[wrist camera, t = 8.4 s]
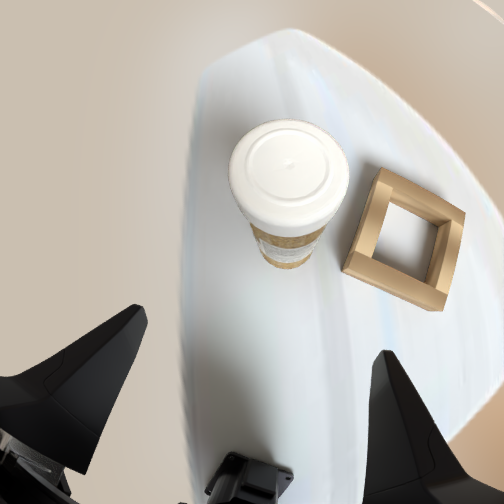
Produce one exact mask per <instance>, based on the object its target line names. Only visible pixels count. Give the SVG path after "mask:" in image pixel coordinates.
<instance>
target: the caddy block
mask: <svg viewBox="0 0 504 504" xmlns="http://www.w3.org/2000/svg"><path fill="white" fill-rule="evenodd" d="M389 202H391V203H394V204H396V205H398V206H400V207H402V208H404V209H406V210H407V211H409V212H411V213H413V214H415V215H417V216H419V217H421V218H423V219H425V220H426V221H428V222H430V223H432V224H434V225H436V226H437V227H439V228H438V233H437V237H436V241H435V246H434V250H433V254H432V257H431V261H430V265H429V268H428V272H427V275H426V279H425V282H424V283H423V282H421V281H419V280H417V279H415V278H413V277H411V276H409V275H407V274H405V273H402V272H400V271H398V270H396V269H394V268H392V267H390V266H388V265H385V264H383V263H381V262H379V261H377V260H375V259H373V258H372V255H373V252H374V249H375V246H376V243H377V240H378V237H379V234H380V231H381V227H382V224H383V221H384V218H385V214H386V211H387V208H388V204H389ZM464 220H465V212H463V211H462V210H460V209H459V208H457V207H455V206H454V205H452V204H450V203H449V202H447V201H445V200H444V199H442V198H440V197H438V196H437V195H435V194H433V193H431V192H430V191H428V190H426V189H424V188H422V187H420V186H419V185H417V184H415V183H413V182H411V181H409V180H407V179H405V178H403V177H401V176H399V175H397V174H395V173H393V172H391V171H389V170H387V169H385V168H383V167H381V169H380V170H379V172H378V173H377V175H376V176H375V178H374V179H373V183H372V186H371V189H370V192H369V195H368V199H367V202H366V205H365V208H364V211H363V214H362V217H361V220H360V223H359V226H358V228H357V231H356V234H355V237H354V240H353V242H352V245H351V248H350V250H349V253H348V256H347V258H346V261H345V264H344V266H343V269H342V271H341V272H343V273H345V274H347V275H350V276H352V277H354V278H356V279H359V280H361V281H363V282H365V283H368V284H370V285H372V286H374V287H377V288H379V289H381V290H383V291H386V292H388V293H390V294H392V295H394V296H397V297H399V298H401V299H403V300H405V301H408V302H410V303H412V304H414V305H416V306H419V307H421V308H423V309H425V310H427V311H443V309H444V306H445V303H446V299H447V296H448V293H449V289H450V286H451V282H452V278H453V274H454V270H455V266H456V262H457V258H458V253H459V248H460V243H461V238H462V232H463V227H464Z"/></svg>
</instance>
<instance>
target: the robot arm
mask: <svg viewBox="0 0 504 504" xmlns="http://www.w3.org/2000/svg"><path fill="white" fill-rule="evenodd" d="M147 324H148V320H147V317H146V313H145V310H144V308H143V306H140V305H137V304H133V305H131V306H129V307H127V308H126V309H124V310H123V311H121V312H120V313H118V314H116V315H115V316H113V317H112V318H110V319H109V320H107V321H106V322H104V323H102V324H101V325H99V326H98V327H96V328H95V329H93V330H92V331H90V332H88V333H87V334H85V335H84V336H82V337H81V338H79V339H78V340H76V341H75V342H73V343H72V344H70V345H69V346H67V347H66V348H64V349H62V350H61V351H59V352H58V353H56V354H55V355H53V356H51V357H50V358H48V359H46V360H45V361H43V362H41V363H39V364H38V365H35V366H34V367H32V368H30V369H28V370H26V371H24V372H22V373H20V374H18V375H15V376H10V377H2V376H0V504H79V503H77V502H76V501H74V500H73V499H71V498H70V495H71V491H70V488H69V486H68V483H67V480H66V477H65V474H64V468H65V467H67V468H69V469H72V470H74V471H76V472H78V473H80V474H83V475H85V474H86V472H87V470H88V467H89V464H90V462H91V459H92V457H93V454H94V452H95V449H96V447H97V444H98V442H99V439H100V438H99V437H100V436H101V434H102V431H103V429H104V427H105V424H106V422H107V419H108V417H109V415H110V413H111V410H112V408H113V406H114V403H115V401H116V399H117V397H118V394H119V392H120V390H121V388H122V386H123V384H124V381H125V379H126V377H127V375H128V373H129V370H130V368H131V366H132V364H133V362H134V359H135V358H136V355H137V352H138V350H139V347H140V344H141V341H142V338H143V335H144V332H145V330H146V327H147ZM230 456H233V457H234V458H231V457H230ZM286 477H290V478H286ZM293 479H294V476H293V474H292V473H290V472H287V471H283V470H280V469H277V467H274V466H271V465H268V464H265V463H262V462H260V461H257V460H254V459H250V458H247V457H245V456H242V455H240V454H237V453H235V452H229V453H228V454H227V455H226V457H225V458H224V460H223V462H222V463H221V465H220V467H219V468H218V470H217V471H216V473H215V475H214V476H213V478H212V479H211V481H210V482H209V484H208V485H207V487H206V489H205V491H204V492H205V493H206V494H207V495H209V496H210V498H209V500H208V502H207V504H278V498H279V497H280V496H281V495H282V493H283V492H284V491H285V490H286V488H287V487H288V486H289V485H290V483H291V482H292V481H293ZM209 491H211V492H209ZM363 496H364V497H363V502H362V504H504V492H502V491H500V490H497V489H495V488H493V487H491V486H488V485H486V484H484V483H482V482H480V481H478V480H476V479H473V478H472V477H471V476H469V475H468V474H467V473H466V472H465V470H464V469H463V468H462V466H461V465H460V463H459V461H458V460H457V458H456V457H455V455H454V454H453V452H452V451H451V449H450V448H449V446H448V445H447V443H446V441H445V440H444V438H443V436H442V434H441V433H440V431H439V429H438V427H437V425H436V424H435V423H434V420H433V418H432V416H431V415H430V413H429V411H428V409H427V407H426V406H425V404H424V402H423V400H422V399H421V397H420V395H419V393H418V392H417V390H416V388H415V387H414V385H413V383H412V382H411V380H410V378H409V377H408V375H407V373H406V372H405V370H404V368H403V367H402V365H401V363H400V362H399V360H398V359H397V357H396V355H395V354H394V352H393V351H391V350H382V351H381V352H380V353H379V355H378V356H377V358H376V359H375V361H374V363H373V366H372V377H371V388H370V397H369V426H368V450H367V465H366V477H365V487H364V495H363ZM178 504H187V503H181V502H180V503H178Z"/></svg>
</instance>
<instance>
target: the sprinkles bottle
mask: <svg viewBox="0 0 504 504" xmlns="http://www.w3.org/2000/svg"><path fill="white" fill-rule="evenodd" d="M228 178H229V184H230V187H231V190H232V193H233V195H234V198H235V200H236V202H237V204H238V206H239V208H240V210H241V212H242V213H243V215H244V216H245V217H246V219H247V220H248V221H249V222H250V225H251V227H252V231H253V234H254V237H255V239H256V241H257V243H258V245H259V248H260V251H261V253H262V255H263V257H264V258H265V259H266V260H267V261H268V262H269V263H270V264H272V265H274V266H275V267H277V268H283V269H292V268H296V267H299V266H300V265H301V264H303V263H304V262H306V261H307V260H308V258H309V257H310V255H311V253H312V251H313V248H314V247H315V245H316V243H317V242H318V240H319V238H320V236H321V234H322V233H323V231H324V229H325V227H326V225H327V223H328V222H329V221H330V220H331V219H332V218H333V216H334V215H335V214H336V212H337V210H338V208H339V207H340V205H341V203H342V201H343V199H344V196H345V194H346V191H347V188H348V183H349V166H348V162H347V158H346V156H345V154H344V151H343V149H342V148H341V146H340V145H339V144H338V142H337V141H336V140H335V139H334V138H333V137H332V136H331V135H330V134H329V133H328V132H326V131H325V130H323V129H322V128H320V127H318V126H316V125H314V124H312V123H309V122H306V121H302V120H296V119H279V120H273V121H269V122H266V123H263V124H261V125H259V126H257V127H255V128H253V129H252V130H250V131H249V132H248V133H247V134H245V135H244V136H243V137H242V139H241V140H240V141H239V142H238V143H237V145H236V147H235V148H234V150H233V152H232V155H231V158H230V161H229V166H228Z"/></svg>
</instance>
